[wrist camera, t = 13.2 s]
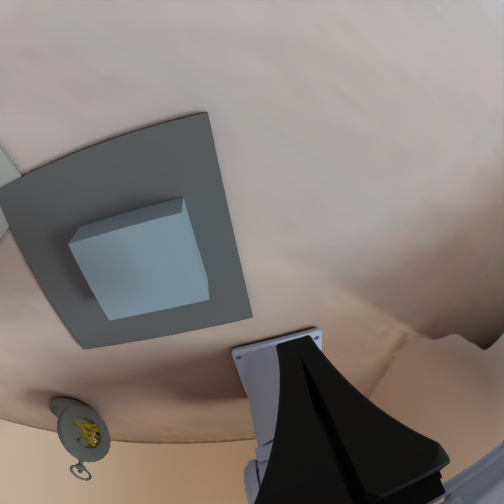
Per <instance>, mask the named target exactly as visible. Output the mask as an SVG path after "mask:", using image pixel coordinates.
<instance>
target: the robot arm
mask: <svg viewBox="0 0 504 504" xmlns="http://www.w3.org/2000/svg"><path fill="white" fill-rule="evenodd" d="M231 353H232V357H233V360H234V362H235V365H236V368H237V371H238V373H239V376H240V379H241V381H242V384H243V387H244V390H245V392H246V395H247V397H248V400H249V405H250V410H251V414H252V419H253V424H254V429H255V434H256V438H257V443H258V448H256V449H255V451H256V455H257V459H254V460H250V461H249V462H248V465H247V466H246V467H245V469H244V483H245V490H246V495H247V499H248V503H249V504H433V503H435V502H436V501H438V500H440V499H442V498H443V497H445V496H446V497H445V500H444V502H442V503H440V504H504V441H502V442H501V443H500V444H499V445H498V446H497V447H495V448H494V449H493V450H492V451H490V452H489V453H488V454H486V455H485V456H484V457H482V458H481V459H479V460H478V461H477V462H475V463H474V464H472V465H471V466H470V467H468V468H467V469H465V470H464V471H462V472H461V473H459V474H457V475H456V476H454V477H453V478H451V479H449V480H448V481H446V482H444V483H443V484H442V483H441V480H440V478H442V476H441V473H440V470H441V469H442V468H444V467H445V466H446V465H448V464H449V462H450V459H449V457H448V455H447V453H446V452H445V450H444V449H443V448H442V446H441V445H440V444H439V443H438V442H436V441H434V440H432V439H430V438H427V437H425V436H423V435H421V434H419V433H417V432H416V431H414V430H412V429H410V428H409V427H407V426H405V425H403V424H402V423H400V422H399V421H397V420H396V419H394V418H392V417H391V416H390V415H388V414H386V413H385V412H384V411H382V410H381V409H380V408H378V407H377V406H376V405H374V404H373V403H372V402H371V401H370V400H368V399H367V398H366V397H365V396H364V395H362V394H361V393H360V392H359V391H358V390H357V389H356V388H355V387H354V386H353V385H352V384H350V383H349V382H348V381H347V380H346V379H345V378H344V377H343V375H342V374H341V373H340V372H339V371H338V370H337V369H336V368H335V367H334V366H333V365H332V364H331V362H330V361H329V360H328V359H327V358H326V356H325V355H324V354H323V353H322V332H321V330H320V328H313V329H309V330H306V331H302V332H298V333H295V334H291V335H287V336H283V337H279V338H275V339H271V340H267V341H263V342H259V343H255V344H251V345H246V346H242V347H237V348H234V349H233V350H232V351H231Z"/></svg>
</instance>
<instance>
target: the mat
mask: <svg viewBox="0 0 504 504" xmlns="http://www.w3.org/2000/svg"><path fill="white" fill-rule="evenodd" d="M182 197H183V198H184V201H185V205H186V208H187V212H188V215H189V219H190V222H191V226H192V229H193V232H194V236H195V239H196V243H197V246H198V249H199V252H200V256H201V259H202V262H203V265H204V269H205V272H206V275H207V278H208V288H209V300H206V301H201V302H196V303H192V304H187V305H183V306H178V307H173V308H169V309H164V310H159V311H154V312H149V313H145V314H140V315H135V316H130V317H125V318H119V319H114V320H109V319H108V317H107V316H106V314H105V312H104V311H103V309H102V307H101V306H100V304H99V302H98V300H97V299H96V297H95V295H94V293H93V292H92V290H91V288H90V286H89V284H88V283H87V281H86V279H85V277H84V275H83V273H82V271H81V269H80V267H79V265H78V264H77V262H76V260H75V258H74V256H73V253H72V251H71V249H70V247H69V245H68V244H69V242H70V241H71V239H72V238H73V236H74V235H75V233H76V232H77V230H78V229H79V227H81V226H84V225H87V224H90V223H93V222H97V221H100V220H103V219H106V218H110V217H113V216H116V215H120V214H123V213H127V212H130V211H133V210H137V209H141V208H144V207H148V206H151V205H155V204H159V203H162V202H166V201H170V200H174V199H178V198H182ZM0 206H1V209H2V211H3V213H4V216H5V218H6V220H7V222H8V225H9V227H10V229H11V231H12V233H13V235H14V238H15V240H16V242H17V244H18V246H19V248H20V250H21V252H22V254H23V255H24V257H25V259H26V261H27V263H28V265H29V267H30V269H31V270H32V272H33V274H34V276H35V277H36V279H37V281H38V283H39V284H40V286H41V288H42V289H43V291H44V293H45V294H46V296H47V298H48V299H49V301H50V302H51V304H52V306H53V307H54V309H55V310H56V312H57V313H58V315H59V316H60V318H61V319H62V321H63V322H64V324H65V325H66V327H67V328H68V329H69V331H70V332H71V334H72V335H73V336H74V338H75V339H76V341H77V342H78V343H79V345H80V346H81V347H82V349H91V348H97V347H104V346H111V345H117V344H123V343H129V342H135V341H141V340H147V339H152V338H158V337H163V336H169V335H174V334H179V333H184V332H189V331H194V330H199V329H204V328H208V327H213V326H218V325H222V324H227V323H231V322H236V321H240V320H244V319H249V318H253V315H252V311H251V307H250V302H249V298H248V294H247V289H246V285H245V281H244V276H243V272H242V268H241V263H240V259H239V254H238V250H237V246H236V241H235V237H234V232H233V228H232V223H231V219H230V214H229V210H228V205H227V201H226V196H225V191H224V187H223V182H222V178H221V173H220V168H219V164H218V159H217V154H216V150H215V145H214V140H213V136H212V131H211V126H210V121H209V117H208V112H204V113H200V114H195V115H191V116H187V117H183V118H179V119H175V120H171V121H168V122H164V123H160V124H157V125H153V126H150V127H147V128H143V129H140V130H137V131H134V132H130V133H127V134H124V135H121V136H118V137H115V138H112V139H110V140H107V141H104V142H101V143H98V144H96V145H93V146H90V147H88V148H85V149H82V150H80V151H77V152H75V153H72V154H70V155H68V156H65V157H63V158H60V159H58V160H56V161H53V162H51V163H49V164H47V165H44V166H42V167H40V168H38V169H36V170H34V171H32V172H30V173H27V174H25V175H23V176H22V177H20V178H18V179H16V180H14V181H12V182H11V183H9V184H7V185H5V186H3V187H1V188H0Z"/></svg>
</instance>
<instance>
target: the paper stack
mask: <svg viewBox="0 0 504 504" xmlns="http://www.w3.org/2000/svg"><path fill="white" fill-rule="evenodd" d="M20 177H22V176H21V175H20V173H19V172H18V171H17V169H16V168H15V167H14V166H13V164H12V163H11V162H10V160H9V159H8V158H7V156H6V155H5V154H4V152H3V151H2V150H1V148H0V188H1V187H3V186H5V185H7V184H9V183H11V182H12V181H14V180H16V179H18V178H20ZM8 227H9V225H8V222H7V220H6V218H5V216H4V213H3V211H2V209H1V206H0V239H1V237H2V236H3V234H4V233H5V232H6V230H7V229H8Z"/></svg>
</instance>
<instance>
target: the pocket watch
mask: <svg viewBox="0 0 504 504" xmlns="http://www.w3.org/2000/svg"><path fill="white" fill-rule="evenodd" d="M49 408H50V410H51V412H52V413H53V414H54V415H55V416H56V417H57V418H58V420H57V431H58V435H59V438H60V440H61V442H62V444H63V446H64V447H65V448H66V450H67V451H68V452H69V453H70V454H71V455H73V456H74V457H76V458H77V459H79V464H76V465H72V466H70V471H71V472H72V474H73V475H74V476H76V477H77V478H79V479H82V480H86V481H88V480H90V479H91V477H92V476H91V474H90V473H89V472H88V471H87V470H86V468H85V466H83V462H84V461H85V462H96V461H98V460H101V459H102V458H104V457H105V455H106V454H107V453H108V451H109V448H110V434H109V431H108V428H107V426H106V424H105V423H104V421H103V420H102V419H101V417H100V416H99V415H98V413H97V412H96V411H95V410H94V409H92V408H91V407H89V406H87V405H85V404H83V403H81V402H79V401H75V400H72V399H67V398H56V399H54V400H52V401H51V403H50V407H49ZM82 430H83V431H82ZM91 431H92V432H91ZM94 431H95V432H96V434H95V433H94V434H93V432H94ZM94 437H95V438H96V439H97V442H96V443H94V440H95V439H94V440H93V439H92V438H94ZM89 441H90V442H89ZM95 441H96V440H95ZM90 443H91V444H90ZM93 445H94V446H93ZM73 467H76V468H77V469H79V470H78V472H79V473H82V471H86V472H87V473H88V474H89V478H87V479H84V478H81V477H79V476H77V475H76V474H75V473H74V472H73V470H72V468H73Z"/></svg>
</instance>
